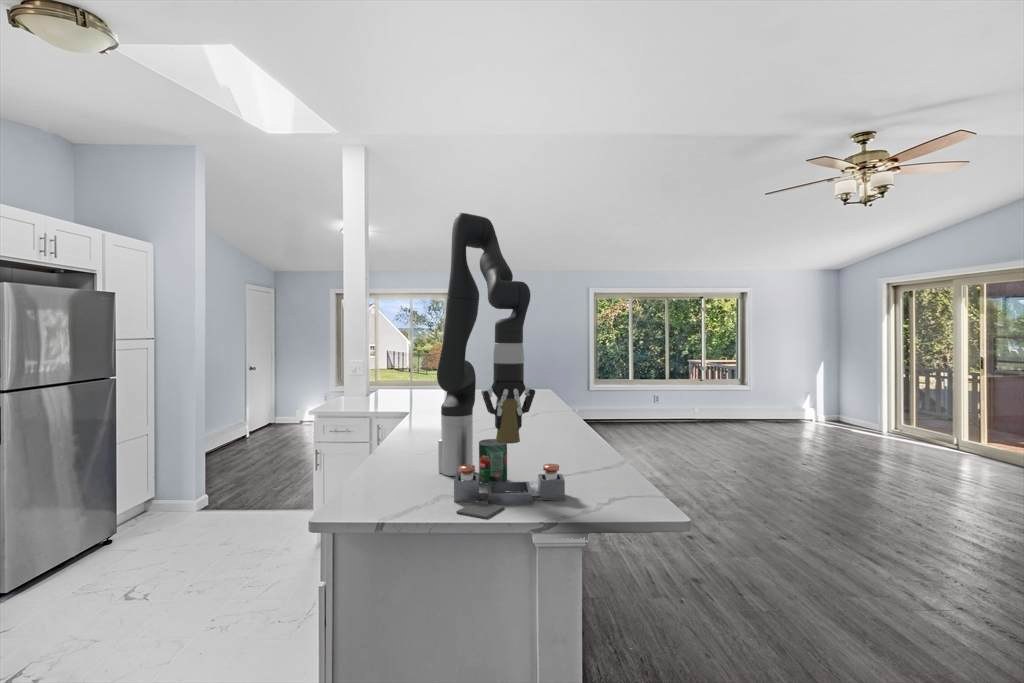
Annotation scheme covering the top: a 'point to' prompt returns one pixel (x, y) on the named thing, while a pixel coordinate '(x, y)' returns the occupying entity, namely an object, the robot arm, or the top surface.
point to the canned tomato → (492, 461)
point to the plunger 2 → (550, 471)
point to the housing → (546, 490)
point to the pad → (480, 510)
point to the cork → (508, 423)
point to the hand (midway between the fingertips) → (508, 429)
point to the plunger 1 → (466, 472)
